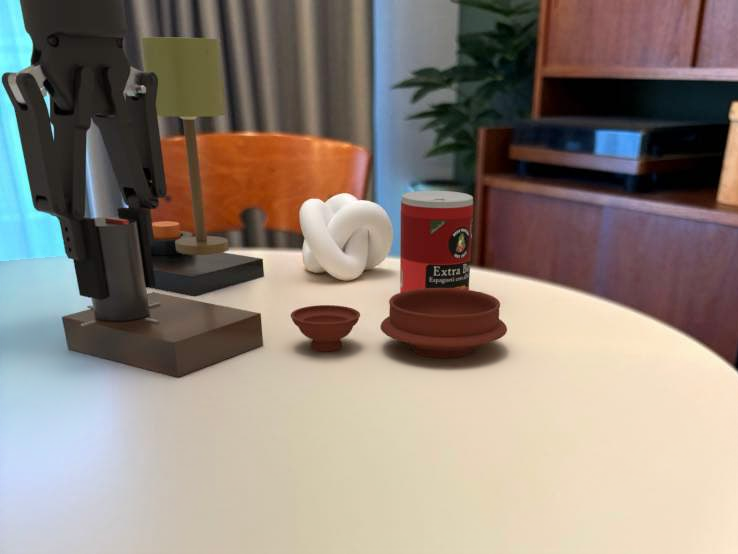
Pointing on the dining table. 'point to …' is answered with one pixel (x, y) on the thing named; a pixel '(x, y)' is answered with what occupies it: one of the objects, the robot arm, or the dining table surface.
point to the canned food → (435, 240)
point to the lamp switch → (166, 229)
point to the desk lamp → (189, 111)
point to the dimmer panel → (167, 335)
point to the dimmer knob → (121, 270)
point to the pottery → (414, 321)
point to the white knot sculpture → (344, 235)
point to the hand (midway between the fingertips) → (118, 289)
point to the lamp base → (199, 269)
